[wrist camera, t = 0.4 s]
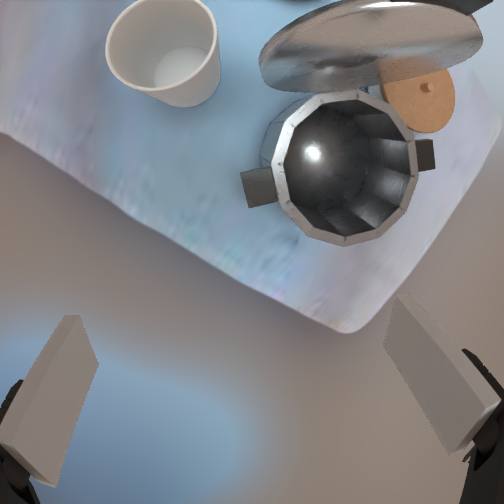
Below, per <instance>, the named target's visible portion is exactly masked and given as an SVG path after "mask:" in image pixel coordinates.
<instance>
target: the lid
mask: <svg viewBox="0 0 504 504" xmlns="http://www.w3.org/2000/svg"><path fill="white" fill-rule="evenodd" d="M491 2H493V0H341V1H338V2H334V3H331V4H329V5H326V6H323V7H321V8H318V9H316V10H313V11H311V12H309V13H307V14H305V15H303V16H301V17H299V18H297V19H296V20H294V21H293V22H291V23H290V24H288V25H286V26H285V27H283V28H282V29H281V30H280V31H279V32H277V33H276V34H275V35H274V36H273V37H272V38H271V39H270V40H269V41H268V42H267V43H266V44H265V46H264V47H263V49H262V51H261V52H260V55H259V67H260V71H261V74H262V78H263V80H264V82H265V83H266V84H267V85H268V86H270V87H272V88H274V89H278V90H282V91H288V92H328V91H339V90H348V89H356V88H363V87H370V86H376V85H382V84H387V83H392V82H397V81H402V80H407V79H411V78H415V77H419V76H423V75H427V74H430V73H434V72H437V71H440V70H443V69H446V68H449V67H452V66H454V65H456V64H459V63H461V62H463V61H465V60H467V59H468V58H470V57H471V56H473V55H474V54H475V53H476V52H477V51H478V50H479V49H480V48H481V46H482V44H483V36H482V33H481V31H480V29H479V26H478V24H477V22H476V20H475V18H474V17H473V15H472V13H473V12H475V11H477V10H479V9H480V8H482V7H484V6H486V5H487V4H489V3H491Z"/></svg>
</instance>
